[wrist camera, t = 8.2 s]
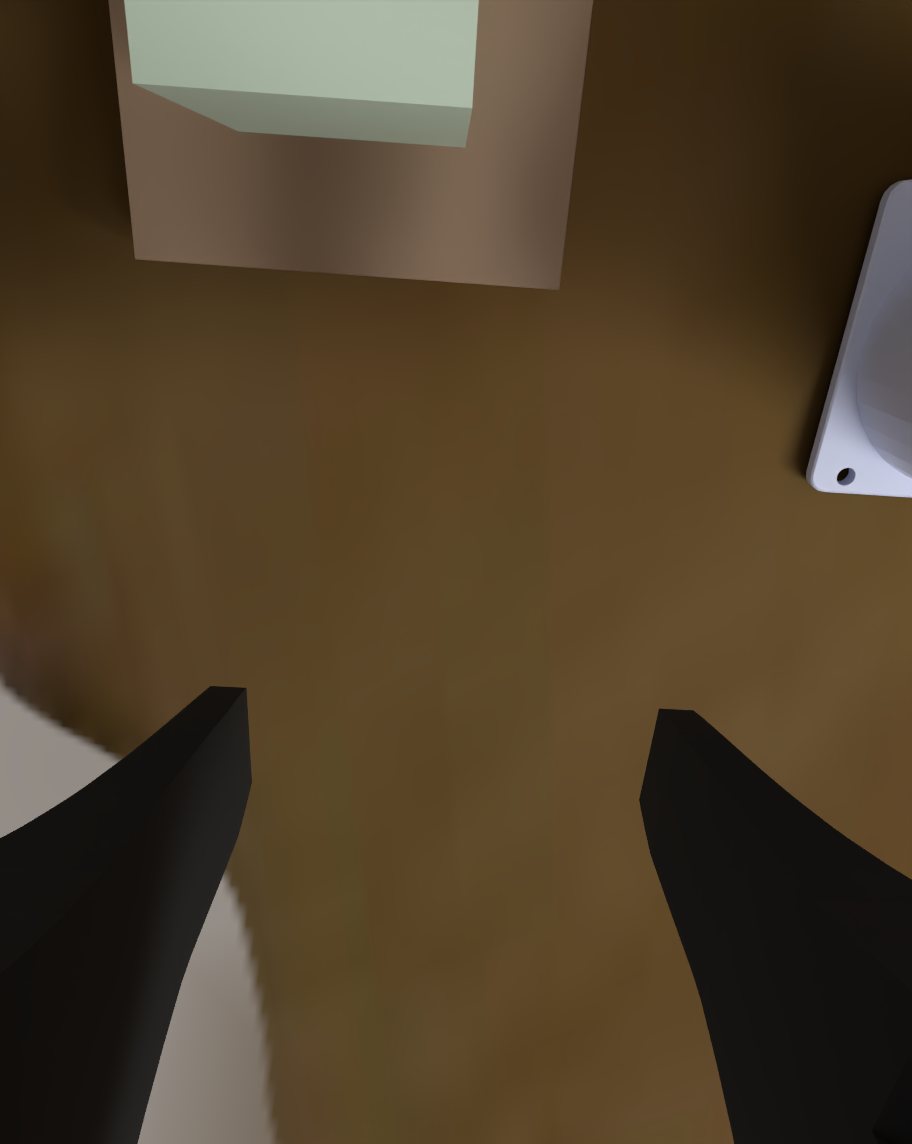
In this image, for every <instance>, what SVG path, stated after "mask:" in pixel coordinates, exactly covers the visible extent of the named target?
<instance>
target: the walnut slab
mask: <svg viewBox="0 0 912 1144" xmlns="http://www.w3.org/2000/svg"><path fill="white" fill-rule="evenodd" d="M108 1H109V11H110V20H111V30H112V40H113V49H114V59H115V69H116V78H117V88H118V98H119V107H120V117H121V127H122V136H123V146H124V156H125V165H126V175H127V185H128V194H129V204H130V214H131V223H132V233H133V243H134V252H135V259H139V260H153V261H167V262H181V263H194V264H208V265H222V266H236V267H250V268H264V269H277V270H291V271H305V272H319V273H333V274H346V275H360V276H374V277H388V278H402V279H416V280H429V281H443V282H457V283H471V284H485V285H499V286H512V287H526V288H540V289H554V290H559V286H560V277H561V269H562V260H563V252H564V243H565V235H566V226H567V218H568V209H569V201H570V192H571V184H572V176H573V167H574V159H575V150H576V142H577V133H578V125H579V116H580V108H581V99H582V91H583V82H584V74H585V65H586V57H587V48H588V40H589V31H590V23H591V14H592V6H593V0H479V4H478V21H477V37H476V54H475V70H474V87H473V103H472V112H471V118H470V124H469V129H468V135H467V141H466V146H465V148H464V147H450V146H436V145H422V144H408V143H394V142H380V141H365V140H351V139H337V138H323V137H309V136H295V135H281V134H267V133H253V132H239V131H236V130H234V129H232V128H230V127H228V126H225V125H223V124H221V123H219V122H217V121H214V120H212V119H210V118H208V117H206V116H203V115H201V114H199V113H197V112H195V111H192V110H190V109H188V108H186V107H184V106H181V105H179V104H177V103H175V102H173V101H170V100H168V99H166V98H164V97H162V96H159V95H157V94H155V93H153V92H151V91H148V90H146V89H144V88H142V87H140V86H137V85H135V84H133V82H132V72H131V62H130V52H129V43H128V33H127V23H126V13H125V3H124V0H108Z"/></svg>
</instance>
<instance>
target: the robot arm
mask: <svg viewBox="0 0 912 1144" xmlns="http://www.w3.org/2000/svg"><path fill="white" fill-rule="evenodd" d="M844 468H849V473H848V475H847V477H846V478H845V479H843V480H842V481H837V475H838V473H839V472H840V471H841V470H843V469H844ZM806 479H807V481H808V483H809V484H810V485H811V486H812V487H814V488H815V489H816V490H819V491H822V492H834V493H850V494H866V495H881V496H897V497H912V180H904V181H898V182H896V183H894V184H893V185H891V186H890V187H889V188H888V189H887V190H886V191H885V192H884V194H883V197H882V199H881V201H880V204H879V208H878V212H877V215H876V219H875V223H874V226H873V230H872V234H871V237H870V241H869V245H868V248H867V252H866V256H865V259H864V263H863V266H862V270H861V274H860V277H859V281H858V285H857V288H856V292H855V296H854V299H853V303H852V307H851V310H850V314H849V318H848V321H847V325H846V328H845V332H844V336H843V339H842V343H841V347H840V350H839V354H838V358H837V361H836V365H835V369H834V372H833V376H832V380H831V383H830V387H829V390H828V394H827V398H826V401H825V405H824V409H823V412H822V416H821V420H820V423H819V427H818V431H817V434H816V438H815V441H814V445H813V449H812V452H811V456H810V460H809V463H808V467H807V471H806ZM251 784H252V777H251V760H250V743H249V726H248V709H247V692H246V688H237V687H217V686H210V687H209V688H208V689H207V690H205V691H204V692H203V693H202V694H201V695H199V696H198V697H197V698H196V699H195V700H193V701H192V702H191V703H190V704H189V705H187V706H186V707H185V708H184V709H183V710H182V711H180V712H179V713H178V714H177V715H176V716H175V717H173V718H172V719H171V720H170V721H169V722H168V723H166V724H165V725H164V726H163V727H162V728H160V729H159V730H158V731H157V732H156V733H154V734H153V735H152V736H151V737H150V738H148V739H147V740H146V741H145V742H143V743H142V744H141V745H140V746H139V747H137V748H136V749H135V750H134V751H132V752H131V753H130V754H129V755H127V756H126V757H125V758H123V759H122V760H121V761H119V762H118V763H117V764H115V765H114V766H112V767H111V768H110V769H108V770H107V771H106V772H104V773H103V774H102V775H100V776H99V777H98V778H96V779H95V780H94V781H92V782H91V783H89V784H88V785H87V786H85V787H84V788H82V789H81V790H79V791H78V792H77V793H75V794H74V795H72V796H71V797H69V798H68V799H66V800H64V801H63V802H61V803H60V804H58V805H57V806H55V807H53V808H52V809H50V810H49V811H47V812H45V813H44V814H42V815H40V816H39V817H37V818H35V819H34V820H32V821H31V822H29V823H27V824H25V825H24V826H22V827H20V828H19V829H17V830H15V831H13V832H11V833H9V834H7V835H6V836H4V837H2V838H0V1144H137V1143H138V1139H139V1135H140V1131H141V1127H142V1123H143V1119H144V1115H145V1112H146V1108H147V1104H148V1100H149V1096H150V1093H151V1090H152V1086H153V1082H154V1078H155V1074H156V1071H157V1067H158V1064H159V1060H160V1056H161V1053H162V1049H163V1045H164V1042H165V1038H166V1035H167V1031H168V1027H169V1024H170V1021H171V1017H172V1013H173V1010H174V1007H175V1003H176V1000H177V996H178V993H179V990H180V986H181V982H182V980H183V977H184V974H185V971H186V968H187V966H188V963H189V960H190V957H191V954H192V952H193V949H194V947H195V944H196V942H197V939H198V936H199V934H200V932H201V929H202V927H203V924H204V921H205V919H206V916H207V914H208V911H209V909H210V906H211V904H212V901H213V899H214V896H215V894H216V891H217V889H218V886H219V884H220V881H221V879H222V876H223V874H224V871H225V869H226V866H227V863H228V861H229V858H230V856H231V853H232V851H233V848H234V845H235V843H236V840H237V838H238V835H239V831H240V827H241V823H242V820H243V816H244V812H245V808H246V804H247V800H248V796H249V792H250V788H251ZM639 801H640V806H641V811H642V817H643V822H644V827H645V832H646V836H647V840H648V845H649V849H650V854H651V857H652V860H653V863H654V866H655V868H656V871H657V874H658V877H659V880H660V883H661V886H662V889H663V891H664V894H665V897H666V900H667V903H668V906H669V908H670V911H671V914H672V917H673V920H674V922H675V925H676V928H677V931H678V934H679V936H680V939H681V942H682V945H683V948H684V950H685V953H686V956H687V959H688V962H689V964H690V967H691V970H692V973H693V976H694V979H695V983H696V986H697V989H698V992H699V995H700V999H701V1002H702V1006H703V1010H704V1014H705V1018H706V1022H707V1026H708V1030H709V1034H710V1038H711V1042H712V1047H713V1051H714V1055H715V1059H716V1063H717V1067H718V1072H719V1076H720V1081H721V1085H722V1089H723V1094H724V1098H725V1103H726V1107H727V1112H728V1116H729V1121H730V1125H731V1129H732V1134H733V1139H734V1144H912V880H911V879H910V878H908V877H906V876H905V875H903V874H902V873H900V872H898V871H897V870H895V869H893V868H892V867H890V866H889V865H887V864H886V863H884V862H883V861H881V860H880V859H878V858H877V857H875V856H874V855H872V854H871V853H869V852H868V851H866V850H865V849H863V848H862V847H860V846H859V845H857V844H856V843H854V842H853V841H851V840H850V839H848V838H847V837H846V836H844V835H843V834H841V833H840V832H839V831H837V830H836V829H834V828H833V827H832V826H830V825H829V824H828V823H826V822H825V821H824V820H823V819H821V818H820V817H819V816H817V815H816V814H815V813H813V812H812V811H811V810H810V809H808V808H807V807H806V806H804V805H803V804H802V803H801V802H799V801H798V800H797V799H796V798H794V797H793V796H792V795H791V794H789V793H788V792H787V791H786V790H785V789H783V788H782V787H781V786H780V785H779V784H777V783H776V782H775V781H774V780H773V779H771V778H770V777H769V776H768V775H767V774H766V773H764V772H763V771H762V770H761V769H760V768H759V767H758V766H756V765H755V764H754V763H753V762H752V761H751V760H750V759H748V758H747V757H746V756H745V755H744V754H743V753H742V752H741V751H739V750H738V749H737V748H736V747H735V746H734V745H733V744H732V743H731V742H729V741H728V740H727V739H726V738H725V737H724V736H723V735H722V734H720V733H719V732H718V731H717V730H716V729H715V728H714V727H713V726H711V725H710V724H709V723H708V722H707V721H706V720H705V719H703V718H702V717H701V716H700V715H698V714H697V713H696V712H695V711H693V710H674V709H659V712H658V716H657V721H656V725H655V730H654V735H653V739H652V744H651V748H650V753H649V758H648V762H647V767H646V771H645V776H644V781H643V785H642V790H641V794H640V799H639Z"/></svg>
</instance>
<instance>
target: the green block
mask: <svg viewBox="0 0 912 1144" xmlns="http://www.w3.org/2000/svg"><path fill="white" fill-rule="evenodd" d="M124 3H125V13H126V23H127V33H128V43H129V52H130V62H131V72H132V82H133V84H135V85H137V86H140V87H142V88H144V89H146V90H148V91H151V92H153V93H155V94H157V95H159V96H162V97H164V98H166V99H168V100H170V101H173V102H175V103H177V104H179V105H181V106H184V107H186V108H188V109H190V110H192V111H195V112H197V113H199V114H201V115H203V116H206V117H208V118H210V119H212V120H214V121H217V122H219V123H221V124H223V125H225V126H228V127H230V128H232V129H234V130H236V131H239V132H253V133H267V134H281V135H295V136H309V137H323V138H337V139H351V140H365V141H380V142H394V143H408V144H422V145H436V146H450V147H464V148H465V146H466V141H467V135H468V129H469V124H470V118H471V112H472V103H473V87H474V70H475V54H476V37H477V21H478V4H479V0H124Z"/></svg>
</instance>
